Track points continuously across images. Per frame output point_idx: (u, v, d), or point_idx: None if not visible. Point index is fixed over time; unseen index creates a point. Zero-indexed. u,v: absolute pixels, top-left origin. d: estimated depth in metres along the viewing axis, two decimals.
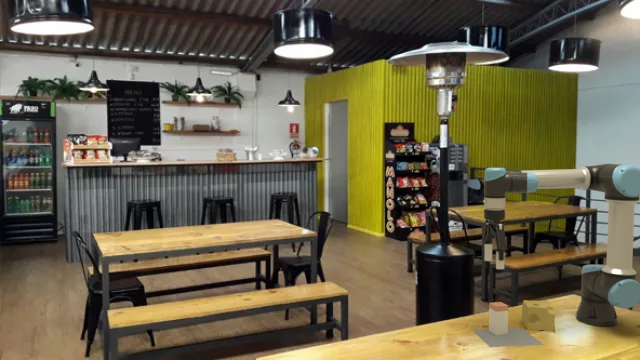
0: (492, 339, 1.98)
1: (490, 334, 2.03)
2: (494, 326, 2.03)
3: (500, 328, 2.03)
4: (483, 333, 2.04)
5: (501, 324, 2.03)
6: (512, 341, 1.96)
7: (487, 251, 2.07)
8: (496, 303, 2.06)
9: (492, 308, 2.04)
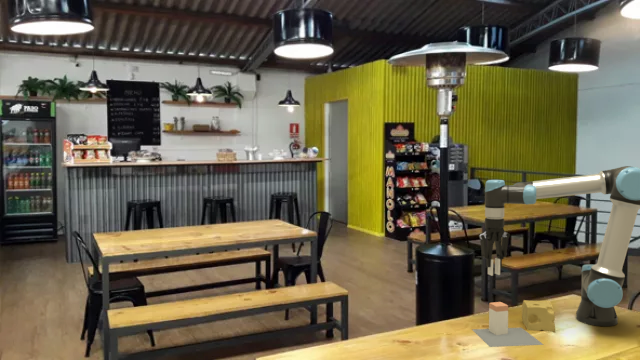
0: (492, 339, 1.98)
1: (490, 334, 2.03)
2: (494, 326, 2.03)
3: (500, 328, 2.03)
4: (483, 333, 2.04)
5: (501, 324, 2.03)
6: (512, 341, 1.96)
7: (495, 264, 2.19)
8: (496, 303, 2.06)
9: (492, 308, 2.04)
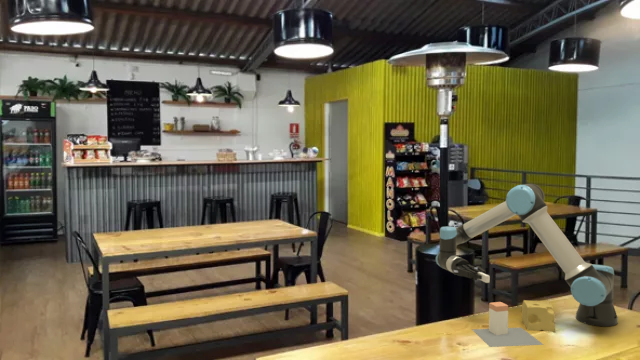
0: (492, 339, 1.98)
1: (490, 334, 2.03)
2: (494, 326, 2.03)
3: (500, 328, 2.03)
4: (483, 333, 2.04)
5: (501, 324, 2.03)
6: (512, 341, 1.96)
7: None
8: (496, 303, 2.06)
9: (492, 308, 2.04)
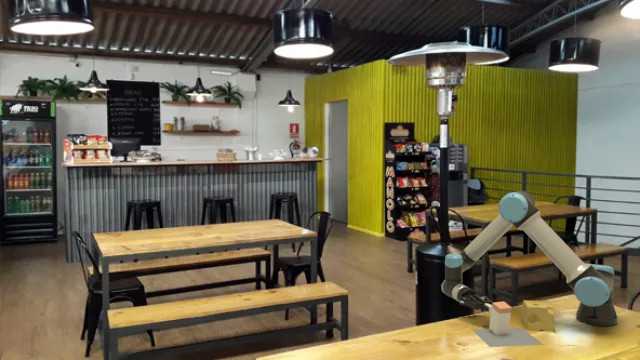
0: (492, 339, 1.98)
1: (490, 334, 2.03)
2: (495, 326, 2.03)
3: (501, 328, 2.02)
4: (483, 333, 2.04)
5: (502, 325, 2.02)
6: (512, 341, 1.96)
7: None
8: (499, 303, 2.04)
9: (495, 309, 2.02)
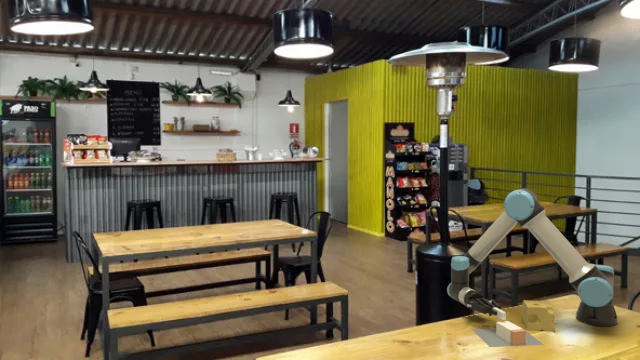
0: (492, 339, 1.98)
1: (490, 334, 2.03)
2: (500, 334, 1.99)
3: None
4: (483, 333, 2.04)
5: None
6: None
7: None
8: (519, 334, 1.92)
9: (511, 336, 1.93)
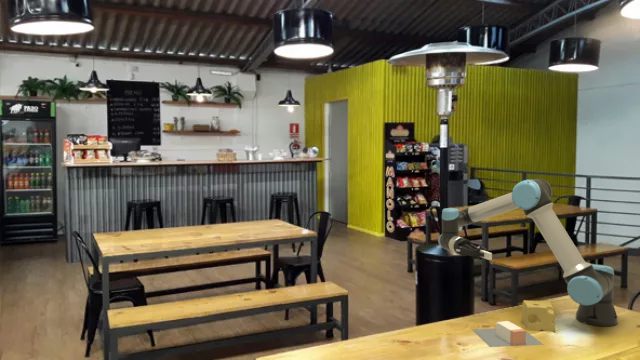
0: (492, 339, 1.98)
1: (490, 334, 2.03)
2: (500, 334, 1.99)
3: None
4: (483, 333, 2.04)
5: None
6: None
7: None
8: (519, 334, 1.92)
9: (511, 336, 1.93)
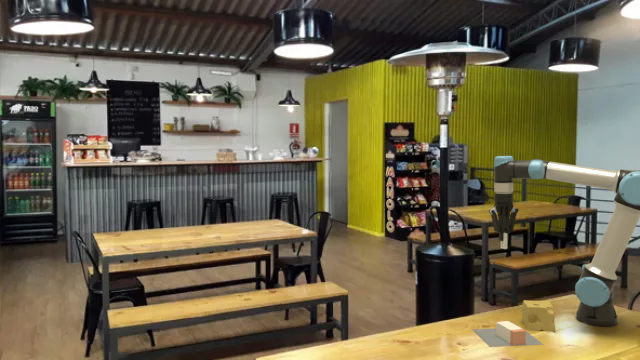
0: (492, 339, 1.98)
1: (490, 334, 2.03)
2: (500, 334, 1.99)
3: None
4: (483, 333, 2.04)
5: None
6: None
7: None
8: (519, 334, 1.92)
9: (511, 336, 1.93)
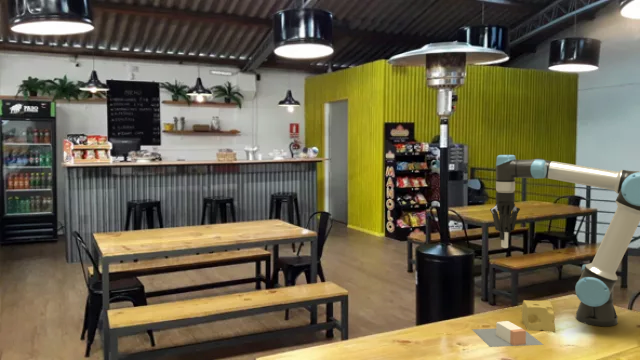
0: (492, 339, 1.98)
1: (490, 334, 2.03)
2: (500, 334, 1.99)
3: None
4: (483, 333, 2.04)
5: None
6: None
7: None
8: (519, 334, 1.92)
9: (511, 336, 1.93)
